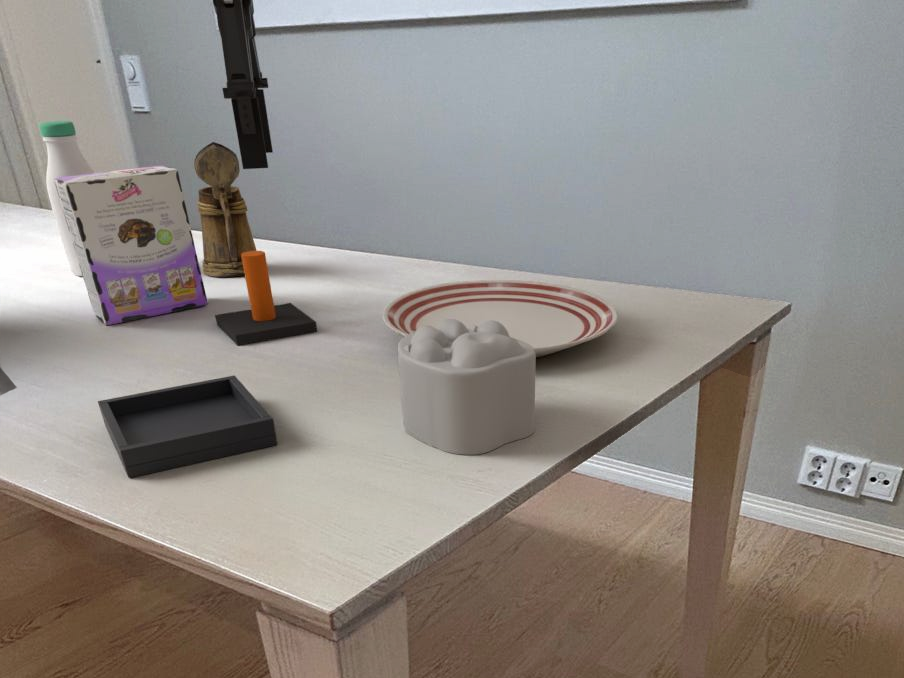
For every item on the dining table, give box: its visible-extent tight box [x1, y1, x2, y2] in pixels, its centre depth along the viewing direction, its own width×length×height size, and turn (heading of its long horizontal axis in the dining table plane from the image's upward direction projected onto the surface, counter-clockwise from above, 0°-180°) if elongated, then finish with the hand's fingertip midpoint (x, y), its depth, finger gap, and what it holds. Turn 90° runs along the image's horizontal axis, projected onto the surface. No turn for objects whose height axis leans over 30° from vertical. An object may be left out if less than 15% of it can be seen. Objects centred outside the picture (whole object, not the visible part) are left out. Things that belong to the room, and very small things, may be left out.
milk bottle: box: [38, 120, 95, 277], centre depth 123 cm, size 8×8×20 cm
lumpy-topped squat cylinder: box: [397, 319, 537, 456], centre depth 75 cm, size 10×13×9 cm
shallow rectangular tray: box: [97, 375, 279, 479], centre depth 76 cm, size 13×13×2 cm
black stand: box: [214, 250, 318, 346], centre depth 101 cm, size 10×10×9 cm
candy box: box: [54, 164, 209, 326], centre depth 105 cm, size 14×6×16 cm, turn 126°
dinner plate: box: [382, 279, 619, 358], centre depth 97 cm, size 28×27×3 cm
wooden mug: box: [194, 141, 258, 278], centre depth 120 cm, size 9×14×18 cm, turn 19°
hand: (258, 160), depth 97 cm, fingers open, 13 cm apart
